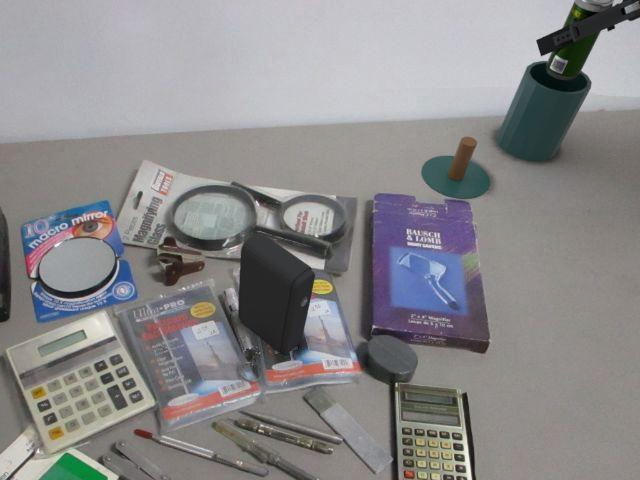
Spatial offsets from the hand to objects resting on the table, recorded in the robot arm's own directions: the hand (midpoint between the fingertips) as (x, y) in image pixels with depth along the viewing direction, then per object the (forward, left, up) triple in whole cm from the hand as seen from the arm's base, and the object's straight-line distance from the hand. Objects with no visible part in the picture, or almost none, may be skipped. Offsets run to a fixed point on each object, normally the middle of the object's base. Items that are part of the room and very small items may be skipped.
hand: (551, 42), depth 97 cm
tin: (-2, +3, -18) cm, 19 cm away
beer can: (-2, +3, -4) cm, 5 cm away
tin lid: (+13, +14, -18) cm, 26 cm away
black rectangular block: (+44, +49, -19) cm, 68 cm away
